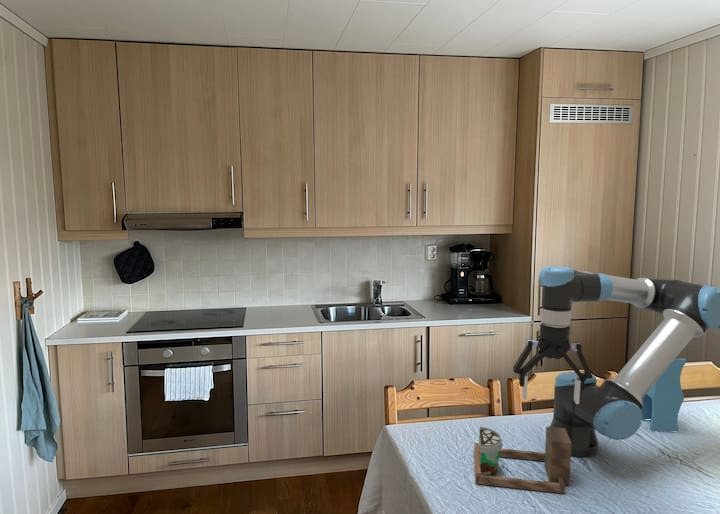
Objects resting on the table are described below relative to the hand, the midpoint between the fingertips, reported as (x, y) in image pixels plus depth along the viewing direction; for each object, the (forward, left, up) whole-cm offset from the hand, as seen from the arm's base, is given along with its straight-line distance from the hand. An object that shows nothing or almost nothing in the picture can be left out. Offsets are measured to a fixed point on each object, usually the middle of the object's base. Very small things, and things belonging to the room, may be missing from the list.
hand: (550, 400), depth 140 cm
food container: (+15, -1, -23) cm, 27 cm away
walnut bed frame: (+7, -1, -22) cm, 23 cm away
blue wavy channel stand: (-43, -42, -23) cm, 64 cm away
